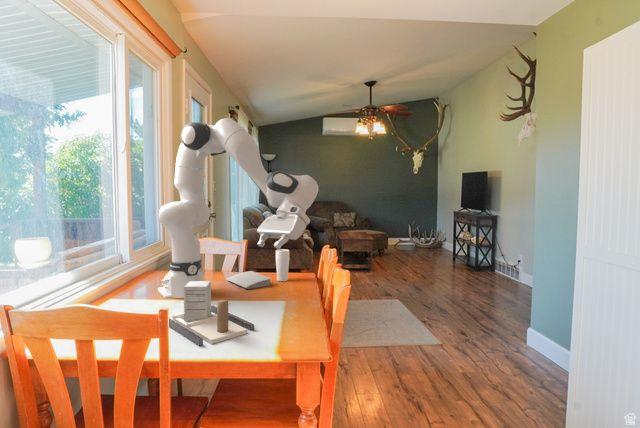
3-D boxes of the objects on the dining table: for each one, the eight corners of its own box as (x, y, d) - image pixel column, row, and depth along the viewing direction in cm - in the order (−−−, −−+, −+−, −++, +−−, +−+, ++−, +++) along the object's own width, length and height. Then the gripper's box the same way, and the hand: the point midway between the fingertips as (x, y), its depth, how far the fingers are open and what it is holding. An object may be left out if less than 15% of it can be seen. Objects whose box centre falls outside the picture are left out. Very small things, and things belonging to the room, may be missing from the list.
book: (252, 277, 190) (253, 270, 190) (277, 286, 172) (277, 278, 172) (224, 281, 180) (224, 273, 180) (247, 292, 162) (247, 283, 162)
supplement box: (189, 317, 126) (189, 280, 126) (211, 317, 127) (211, 280, 126) (183, 325, 119) (183, 286, 118) (207, 324, 120) (206, 286, 119)
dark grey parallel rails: (162, 322, 122) (162, 316, 121) (212, 310, 134) (212, 305, 134) (199, 346, 103) (199, 339, 103) (254, 330, 116) (254, 324, 116)
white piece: (287, 282, 178) (287, 251, 177) (273, 281, 179) (273, 250, 178) (290, 279, 185) (291, 249, 184) (277, 278, 186) (278, 248, 185)
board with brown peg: (172, 320, 123) (172, 290, 122) (206, 312, 131) (206, 284, 131) (211, 344, 104) (210, 308, 104) (247, 333, 113) (247, 300, 112)
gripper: (266, 209, 134) (244, 239, 128) (303, 208, 119) (280, 242, 113) (277, 220, 137) (256, 250, 131) (314, 221, 122) (292, 254, 116)
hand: (267, 246), depth 122 cm, fingers open, 8 cm apart
